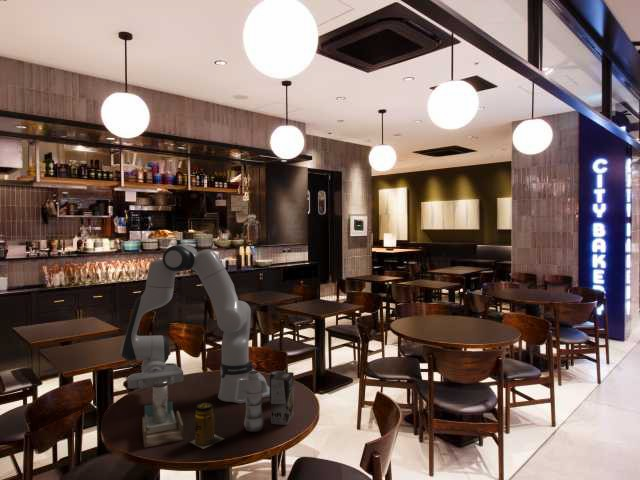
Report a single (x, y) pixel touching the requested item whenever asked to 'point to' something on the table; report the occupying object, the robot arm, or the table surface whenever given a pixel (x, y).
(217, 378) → the table surface
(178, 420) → the housing
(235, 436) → the table surface
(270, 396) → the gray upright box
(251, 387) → the plastic bottle
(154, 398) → the canister
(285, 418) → the coffee box
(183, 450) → the table surface
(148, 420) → the tray
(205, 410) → the condiment
